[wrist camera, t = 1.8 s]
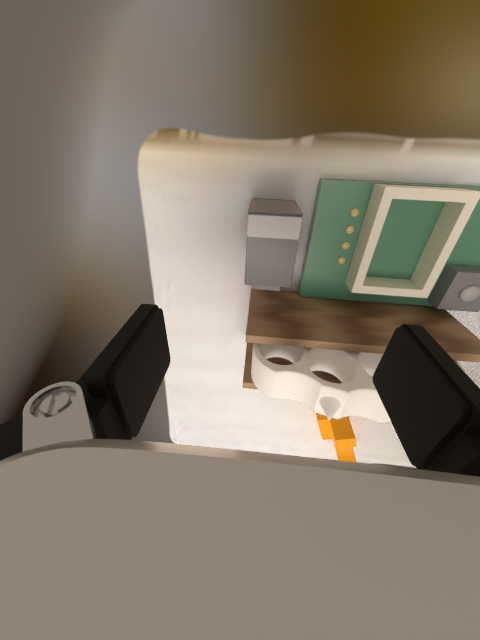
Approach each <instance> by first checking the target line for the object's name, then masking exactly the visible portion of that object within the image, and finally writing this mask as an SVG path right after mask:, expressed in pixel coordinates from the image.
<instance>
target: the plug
mask: <svg viewBox="0 0 480 640" xmlns="http://www.w3.org/2000/svg"><path fill="white" fill-rule="evenodd" d="M302 215H303V214H302V212H301V211H300V209H299V207H298V206H297V204H296V202H295V201H293V200H275V199H257V198H252V201H251V204H250V207H249V211H248V224H247V247H246V265H245V284H247V285H254V287H253V289H259V290H273V291H280V287H288V288H290V286H291V280H292V274H293V269H294V263H295V257H296V251H297V245H298V240H299V236H300V231H301V225H302V219H303V217H302Z"/></svg>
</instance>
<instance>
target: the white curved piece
mask: <svg viewBox="0 0 480 640" xmlns="http://www.w3.org/2000/svg"><path fill="white" fill-rule="evenodd" d="M382 356H383V354H377V353H365V352H354V351H342V350H330V349H319V348H307V347H296V346H284V345H272V344H261V343H254V346H253V353H252V366H251V377H252V380H253V382H254V384H255V386H256V387H257V388H258V390H259V391H261V392H262V393H263V394H264V395H266V396H268V397H269V398H272V399H274V398H287V399H292V400H295V401H298V402H300V403H302V404H304V405H306V406H307V407H309V408H310V409H311V410H312V411H313V412H316V413H319V414H322V415H325V416H327V418H328V420H330V419H331V418H335V419H340V418H343V417H347V416H359V417H364V418H367V419H370V420H373V421H375V422H377V423H385V422H391V420H390V418H389V416H388V414H387V412H386V409H385V407H384V405H383V403H382V401H381V399H380V397H379V395H378V392H377V390H376V388H375V386H374V384H373V378H372V377H373V375H374V372H375V370H376V368H377V366H378V364H379V362H380V360H381V358H382ZM271 357H280V358H285V359H287V360H289V361H291V362H292V363H293V364H291V365H278V364H274V363H272V362H270V361H268V360H266V359H268V358H271ZM454 361H455V362H456V363H457V365H458V366H459V367H460V368H461V369H462V370H463V371H464V369H463V368H462V367H461V365H460V364H459V363H458V362H457V361H456V360H454ZM312 371H324V372H328V373H330V374H332V375H334V376H335V377H337V378H338V379H339V380H340V381H341V382H342V383H331V382H328V381H325V380H323V379H321V378H319V377H318V376H316V375H315V374H314V373H313V372H312ZM464 372H465V371H464ZM371 376H372V377H371Z"/></svg>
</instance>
